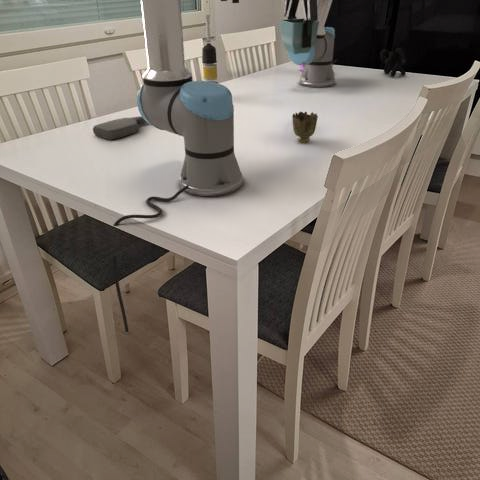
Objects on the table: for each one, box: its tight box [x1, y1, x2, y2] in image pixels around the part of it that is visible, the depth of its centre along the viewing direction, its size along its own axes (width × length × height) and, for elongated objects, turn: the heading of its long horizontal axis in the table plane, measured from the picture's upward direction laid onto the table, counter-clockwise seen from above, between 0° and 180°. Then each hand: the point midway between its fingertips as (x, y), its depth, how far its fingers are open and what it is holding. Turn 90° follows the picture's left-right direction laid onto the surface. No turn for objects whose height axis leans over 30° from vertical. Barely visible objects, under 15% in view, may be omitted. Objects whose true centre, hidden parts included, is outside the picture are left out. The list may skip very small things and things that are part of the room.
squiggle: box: [379, 47, 407, 78], centre depth 207 cm, size 11×10×15 cm
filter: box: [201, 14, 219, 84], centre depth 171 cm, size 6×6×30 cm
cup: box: [291, 111, 319, 144], centre depth 132 cm, size 8×7×8 cm
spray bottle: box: [92, 115, 148, 141], centre depth 147 cm, size 3×11×25 cm
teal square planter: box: [279, 17, 319, 54], centre depth 134 cm, size 9×9×9 cm
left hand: (298, 45), depth 135 cm, fingers closed on teal square planter, 9 cm apart
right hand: (229, 2), depth 189 cm, fingers open, 13 cm apart
